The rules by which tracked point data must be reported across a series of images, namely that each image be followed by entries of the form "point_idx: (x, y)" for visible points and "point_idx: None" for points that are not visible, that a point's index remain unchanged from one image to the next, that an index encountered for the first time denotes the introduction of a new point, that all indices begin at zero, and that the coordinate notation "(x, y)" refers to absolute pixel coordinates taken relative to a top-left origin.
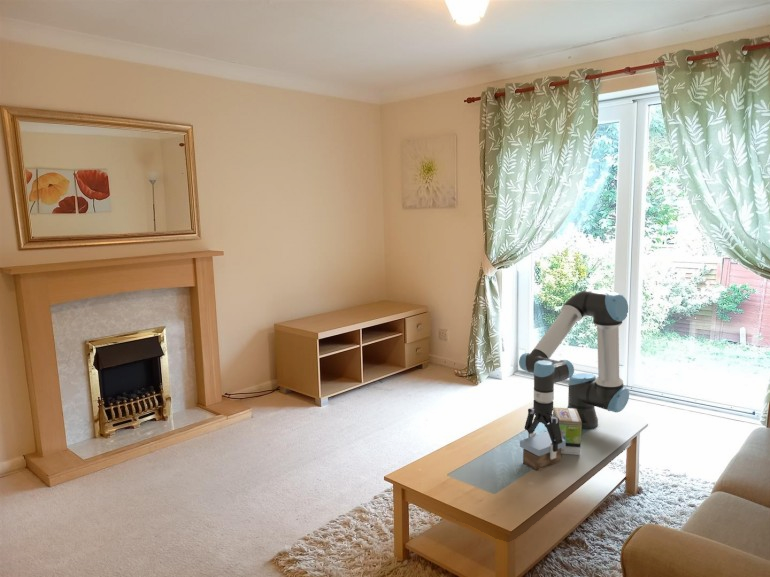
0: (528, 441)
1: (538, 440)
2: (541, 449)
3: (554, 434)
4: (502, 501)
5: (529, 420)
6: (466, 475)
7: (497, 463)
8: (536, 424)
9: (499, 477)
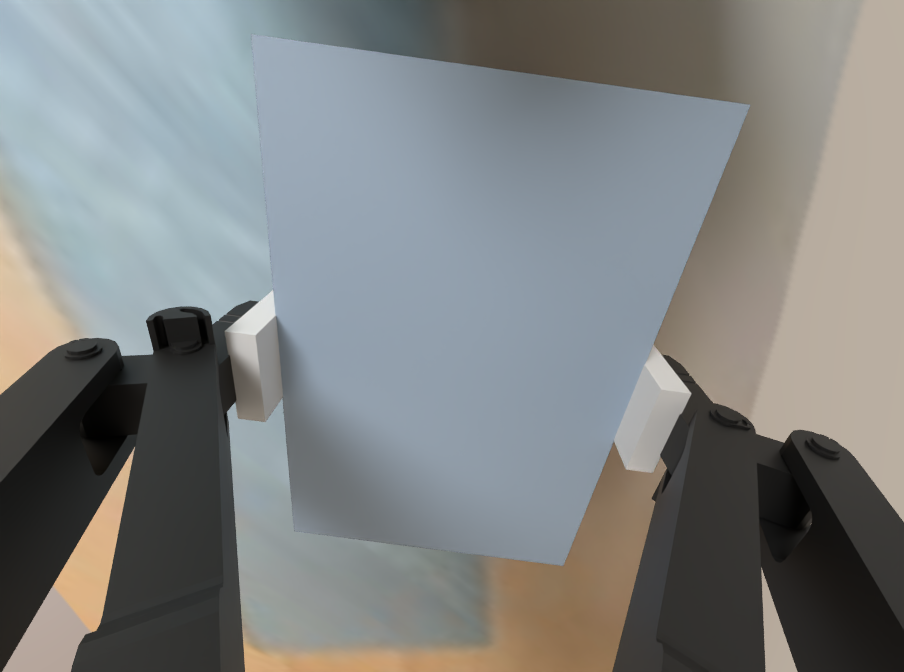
0: (358, 496)
1: (415, 413)
2: (571, 544)
3: (797, 647)
4: (549, 661)
5: (23, 617)
6: (305, 621)
7: (289, 479)
8: (230, 540)
9: (411, 564)
